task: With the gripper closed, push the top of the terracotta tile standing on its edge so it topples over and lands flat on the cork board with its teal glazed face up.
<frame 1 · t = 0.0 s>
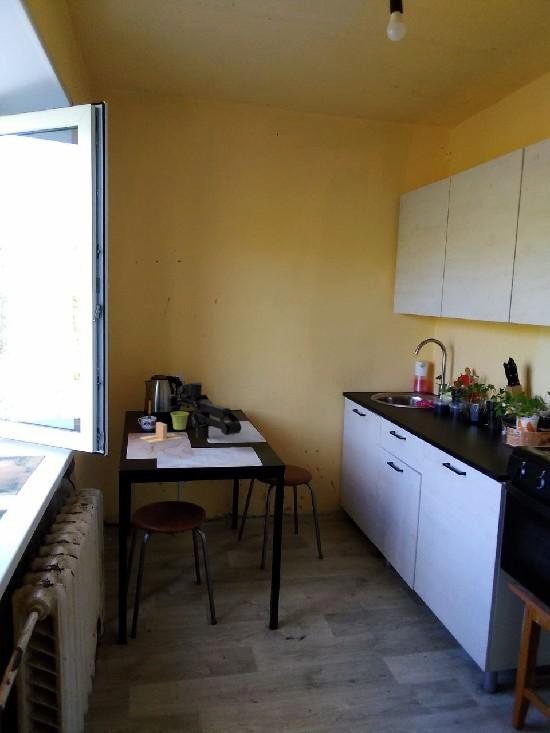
hand: (176, 397, 284), 17 cm above the table, tool horizontal, fingers open, 9 cm apart
tile: (161, 437, 263), point 1 cm above the table, touching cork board
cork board: (161, 439, 263), on the table
plant pot: (179, 430, 283), on the table
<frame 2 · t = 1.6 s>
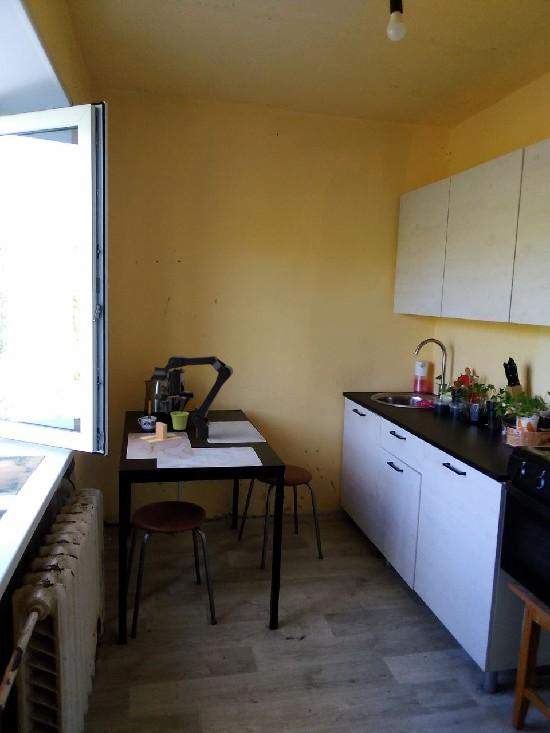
hand: (174, 413, 266), 12 cm above the table, tool pointing down, fingers open, 8 cm apart
nothing on the table moved.
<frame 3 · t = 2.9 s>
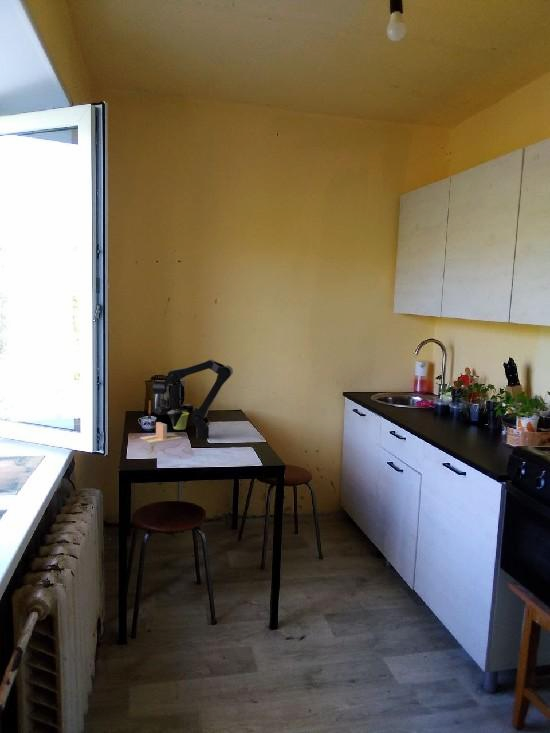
hand: (174, 426, 267), 5 cm above the table, tool pointing down, fingers closed
nothing on the table moved.
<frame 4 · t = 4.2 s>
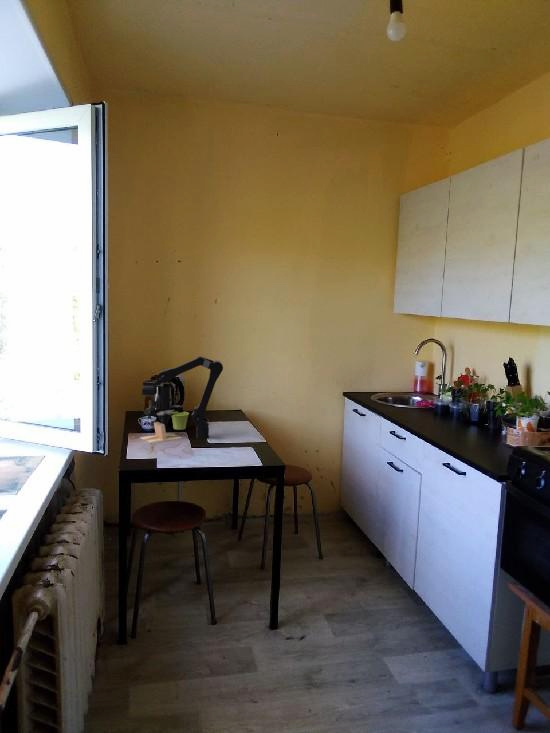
hand: (163, 427, 264), 5 cm above the table, tool pointing down, fingers closed
tile: (161, 437, 263), point 1 cm above the table, tilted 10°, touching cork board, gripper
everything else where it was.
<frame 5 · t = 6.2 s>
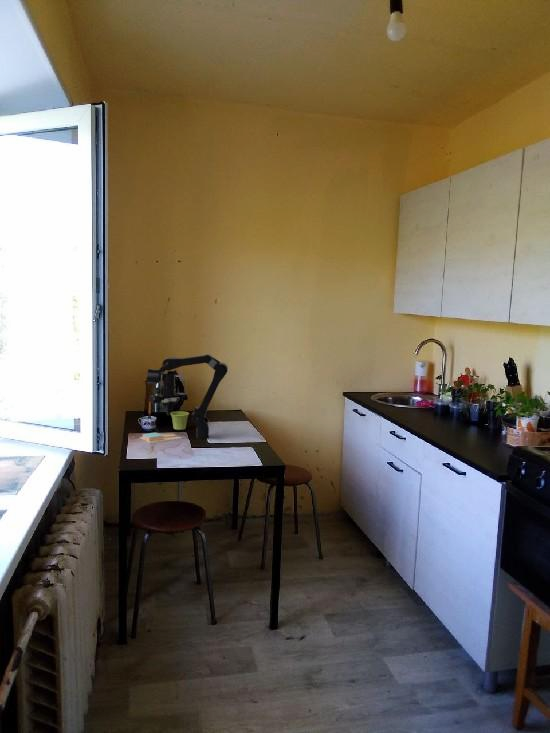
hand: (168, 415, 264), 11 cm above the table, tool pointing down, fingers closed
tile: (159, 436, 262), point 2 cm above the table, tilted 90°, touching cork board
everything else where it was.
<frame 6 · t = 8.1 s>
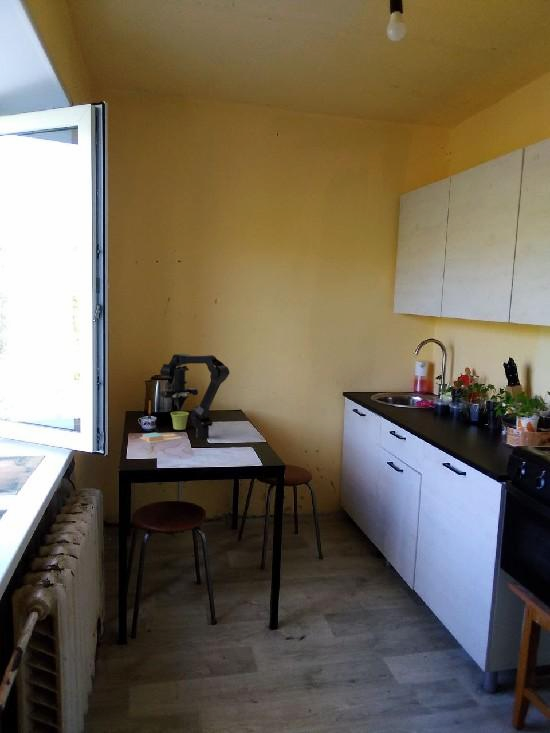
hand: (179, 409, 272), 12 cm above the table, tool pointing down, fingers closed
nothing on the table moved.
at the end: tile tilted 90°; tile inside the target area (2.5 cm from its centre), point 1.8 cm above the table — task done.
